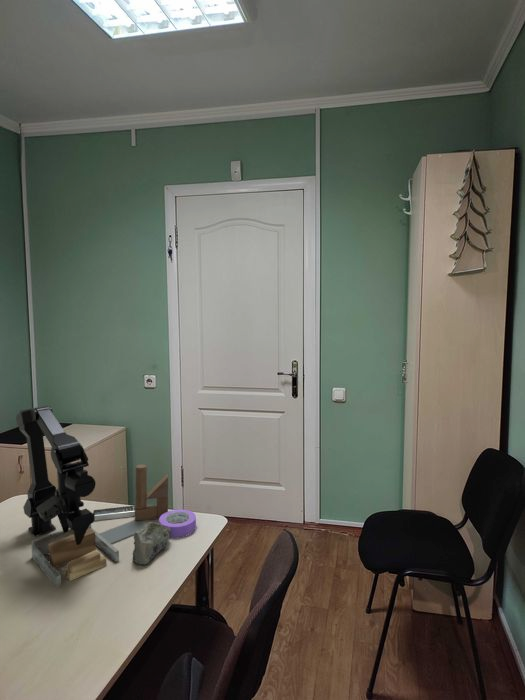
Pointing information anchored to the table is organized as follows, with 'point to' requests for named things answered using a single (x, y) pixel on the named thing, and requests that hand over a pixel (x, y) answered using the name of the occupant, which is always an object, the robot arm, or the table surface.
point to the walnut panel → (71, 548)
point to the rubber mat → (122, 531)
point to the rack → (41, 544)
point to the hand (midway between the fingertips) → (72, 538)
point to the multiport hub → (114, 513)
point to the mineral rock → (149, 541)
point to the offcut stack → (85, 565)
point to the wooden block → (149, 496)
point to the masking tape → (181, 528)
